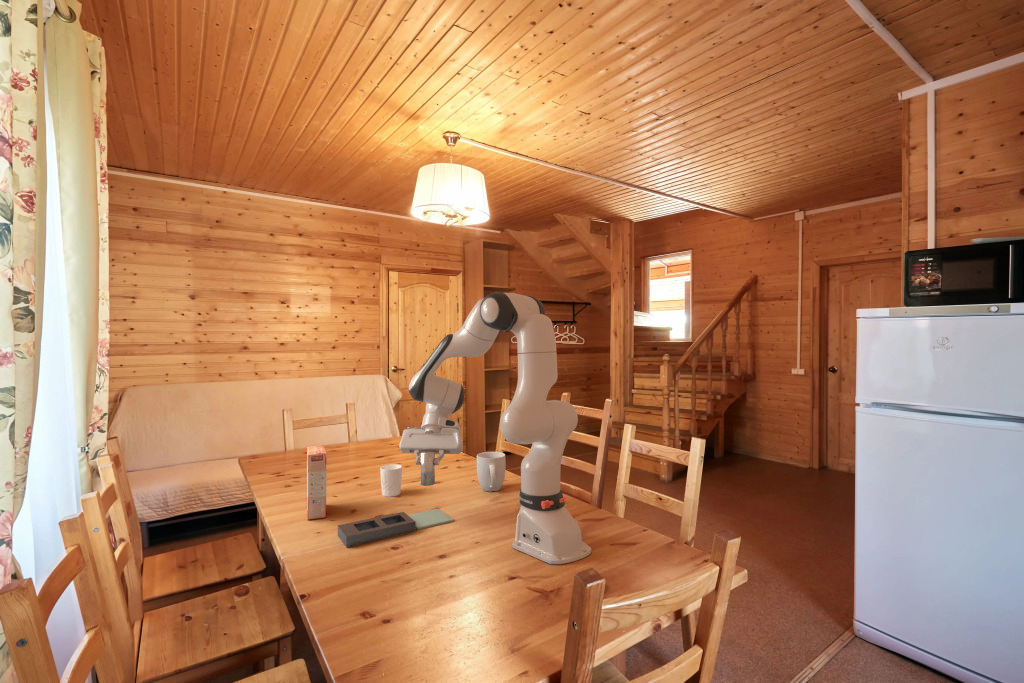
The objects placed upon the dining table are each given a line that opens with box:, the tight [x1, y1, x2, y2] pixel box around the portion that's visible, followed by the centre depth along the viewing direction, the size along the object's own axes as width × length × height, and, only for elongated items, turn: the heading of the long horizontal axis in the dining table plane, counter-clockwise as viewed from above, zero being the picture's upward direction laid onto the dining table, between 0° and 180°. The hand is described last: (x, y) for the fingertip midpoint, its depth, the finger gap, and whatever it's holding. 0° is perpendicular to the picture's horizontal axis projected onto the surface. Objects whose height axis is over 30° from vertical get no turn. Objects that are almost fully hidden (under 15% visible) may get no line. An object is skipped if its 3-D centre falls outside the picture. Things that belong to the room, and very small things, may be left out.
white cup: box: [379, 463, 403, 497], centre depth 181 cm, size 8×8×10 cm
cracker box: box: [306, 445, 327, 520], centre depth 162 cm, size 14×6×21 cm, turn 23°
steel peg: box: [420, 451, 436, 487], centre depth 155 cm, size 4×4×10 cm
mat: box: [407, 508, 455, 531], centre depth 154 cm, size 12×12×1 cm
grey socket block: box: [337, 511, 417, 548], centre depth 144 cm, size 10×20×3 cm, turn 123°
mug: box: [476, 451, 507, 493], centre depth 183 cm, size 15×11×13 cm
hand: (427, 464), depth 154 cm, fingers closed on steel peg, 4 cm apart
